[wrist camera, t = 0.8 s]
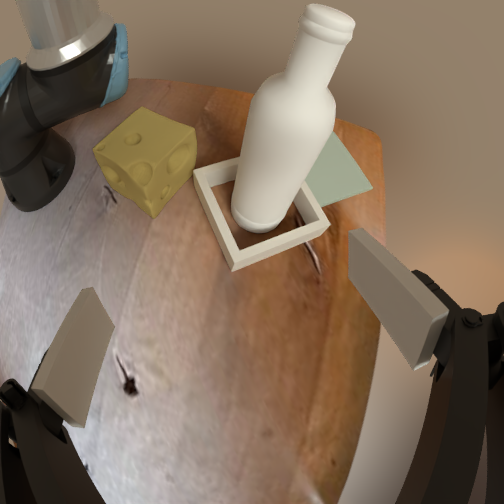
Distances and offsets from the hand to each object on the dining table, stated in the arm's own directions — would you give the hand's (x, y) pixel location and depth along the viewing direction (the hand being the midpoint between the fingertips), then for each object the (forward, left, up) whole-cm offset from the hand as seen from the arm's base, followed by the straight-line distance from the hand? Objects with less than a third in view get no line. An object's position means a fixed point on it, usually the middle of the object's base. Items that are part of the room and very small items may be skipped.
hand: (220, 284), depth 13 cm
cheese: (-23, -1, -23) cm, 32 cm away
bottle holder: (-12, +12, -22) cm, 28 cm away
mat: (-16, +27, -22) cm, 39 cm away
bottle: (-12, +12, -23) cm, 28 cm away
